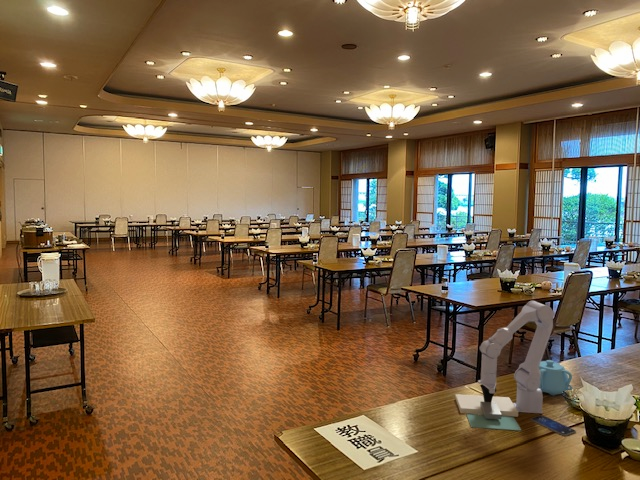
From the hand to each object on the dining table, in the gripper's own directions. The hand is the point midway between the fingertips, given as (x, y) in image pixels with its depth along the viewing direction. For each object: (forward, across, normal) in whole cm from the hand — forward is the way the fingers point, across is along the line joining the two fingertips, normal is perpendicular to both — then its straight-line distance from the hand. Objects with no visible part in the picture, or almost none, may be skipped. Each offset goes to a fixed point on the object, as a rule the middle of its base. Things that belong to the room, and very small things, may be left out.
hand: (487, 403), depth 195 cm
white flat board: (+3, -4, 0) cm, 5 cm away
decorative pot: (+3, -27, +32) cm, 42 cm away
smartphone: (+4, +9, +22) cm, 24 cm away
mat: (+3, +10, 0) cm, 10 cm away
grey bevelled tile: (+1, +5, 0) cm, 6 cm away
